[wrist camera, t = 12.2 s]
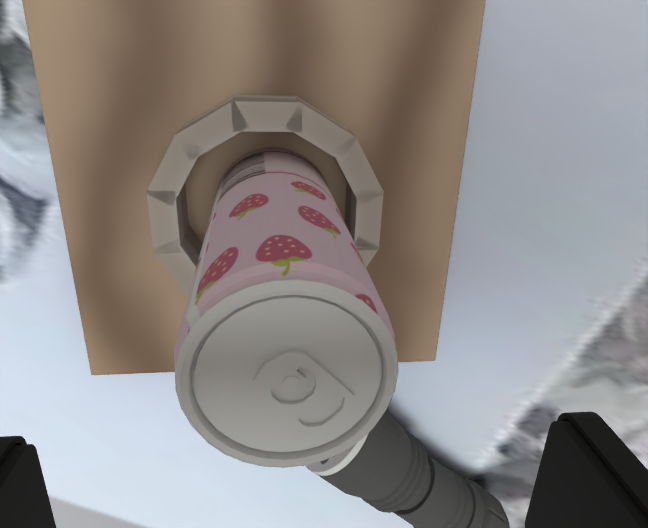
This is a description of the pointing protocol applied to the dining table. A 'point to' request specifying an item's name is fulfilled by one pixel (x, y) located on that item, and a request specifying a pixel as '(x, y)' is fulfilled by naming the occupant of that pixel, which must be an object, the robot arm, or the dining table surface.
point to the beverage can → (282, 322)
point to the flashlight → (409, 481)
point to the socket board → (249, 143)
